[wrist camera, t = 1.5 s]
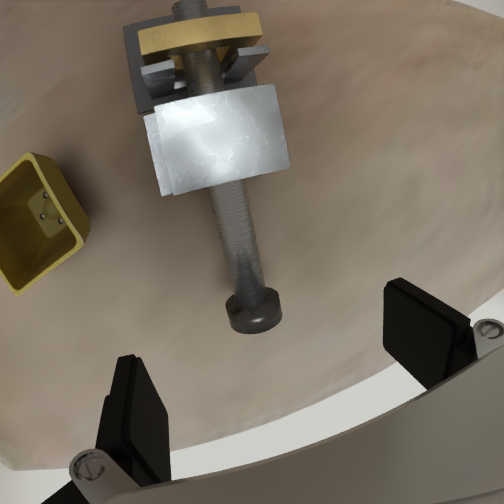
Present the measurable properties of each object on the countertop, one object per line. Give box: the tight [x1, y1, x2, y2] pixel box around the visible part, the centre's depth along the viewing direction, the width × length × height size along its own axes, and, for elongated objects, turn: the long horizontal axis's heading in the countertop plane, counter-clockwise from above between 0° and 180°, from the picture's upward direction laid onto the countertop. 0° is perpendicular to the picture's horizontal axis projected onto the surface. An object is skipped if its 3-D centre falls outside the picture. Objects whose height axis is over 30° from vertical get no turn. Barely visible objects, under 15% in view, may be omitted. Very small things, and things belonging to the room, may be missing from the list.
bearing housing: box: [144, 84, 291, 196], centre depth 24 cm, size 8×11×11 cm
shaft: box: [172, 0, 282, 334], centre depth 24 cm, size 28×5×5 cm, turn 11°
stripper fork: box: [141, 45, 270, 100], centre depth 23 cm, size 1×9×10 cm, turn 101°
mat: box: [123, 6, 257, 114], centre depth 26 cm, size 10×12×1 cm
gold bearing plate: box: [138, 12, 263, 76], centre depth 21 cm, size 2×8×8 cm, turn 101°
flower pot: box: [0, 152, 90, 297], centre depth 23 cm, size 9×9×9 cm
